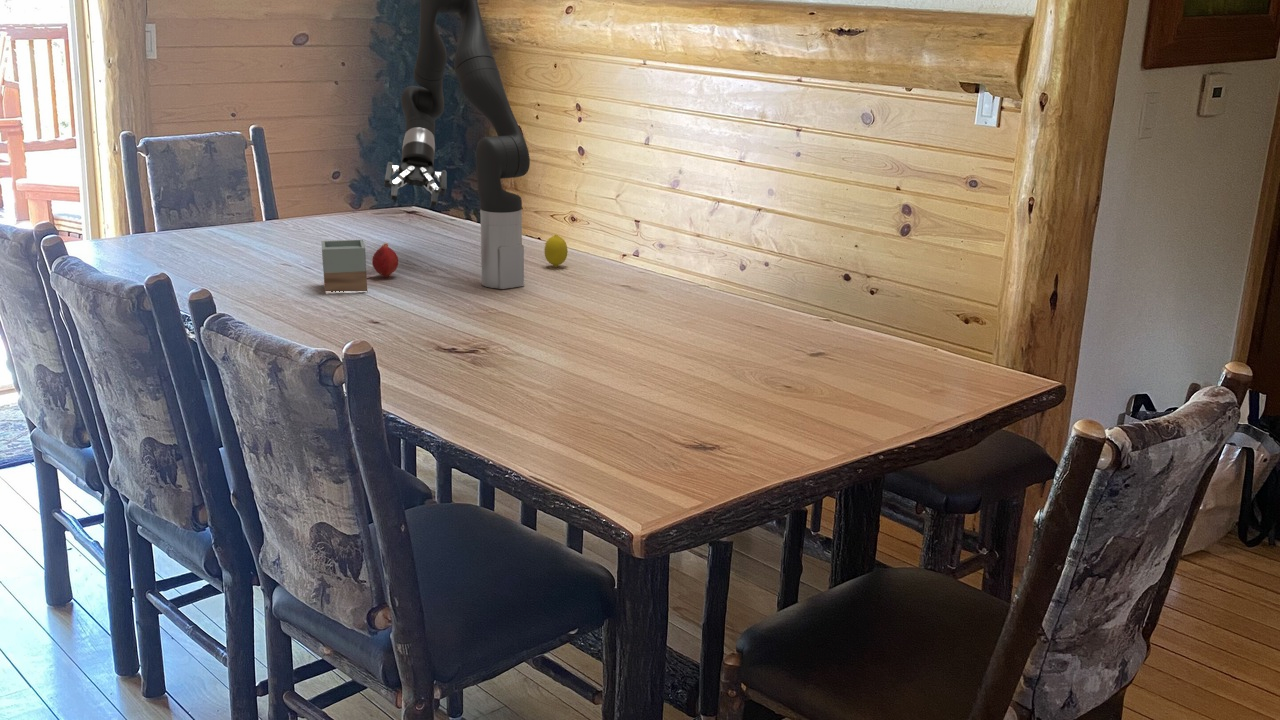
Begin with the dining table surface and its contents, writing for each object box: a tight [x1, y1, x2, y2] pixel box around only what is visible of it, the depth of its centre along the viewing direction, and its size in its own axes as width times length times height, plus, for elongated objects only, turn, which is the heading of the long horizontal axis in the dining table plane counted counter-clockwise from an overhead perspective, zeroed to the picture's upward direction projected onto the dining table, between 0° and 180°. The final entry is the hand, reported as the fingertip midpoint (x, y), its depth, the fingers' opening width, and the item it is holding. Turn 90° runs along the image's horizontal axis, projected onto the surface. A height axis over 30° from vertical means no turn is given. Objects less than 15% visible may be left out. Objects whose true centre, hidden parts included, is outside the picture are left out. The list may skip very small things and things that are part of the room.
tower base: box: [323, 270, 368, 292], centre depth 257 cm, size 9×9×5 cm
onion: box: [372, 242, 399, 278], centre depth 267 cm, size 6×6×8 cm
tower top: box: [321, 239, 367, 274], centre depth 255 cm, size 9×9×5 cm
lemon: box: [544, 234, 568, 268], centre depth 281 cm, size 6×6×8 cm
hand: (413, 202), depth 268 cm, fingers open, 8 cm apart
